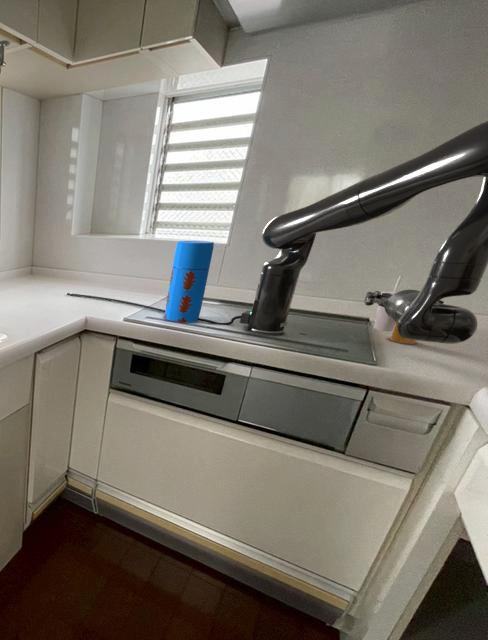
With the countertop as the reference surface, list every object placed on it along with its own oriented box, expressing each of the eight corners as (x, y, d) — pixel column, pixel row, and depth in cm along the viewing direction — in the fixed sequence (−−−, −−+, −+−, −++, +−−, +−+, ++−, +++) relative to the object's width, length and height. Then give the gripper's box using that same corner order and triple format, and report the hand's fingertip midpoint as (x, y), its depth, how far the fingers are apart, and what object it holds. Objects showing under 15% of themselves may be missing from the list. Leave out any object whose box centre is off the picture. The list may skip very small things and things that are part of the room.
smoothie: (366, 324, 112) (385, 273, 107) (397, 328, 108) (419, 276, 103) (367, 329, 108) (387, 276, 102) (400, 334, 104) (423, 279, 98)
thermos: (164, 321, 134) (178, 242, 125) (163, 313, 144) (175, 240, 134) (200, 323, 131) (217, 243, 121) (197, 316, 140) (212, 241, 131)
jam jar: (392, 342, 113) (407, 304, 108) (387, 337, 117) (402, 300, 112) (417, 345, 110) (434, 306, 106) (412, 340, 114) (428, 302, 110)
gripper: (462, 296, 89) (436, 284, 102) (376, 289, 96) (362, 279, 109) (447, 328, 91) (424, 313, 105) (365, 320, 98) (352, 306, 112)
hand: (392, 296), depth 107 cm, fingers closed on smoothie, 6 cm apart
